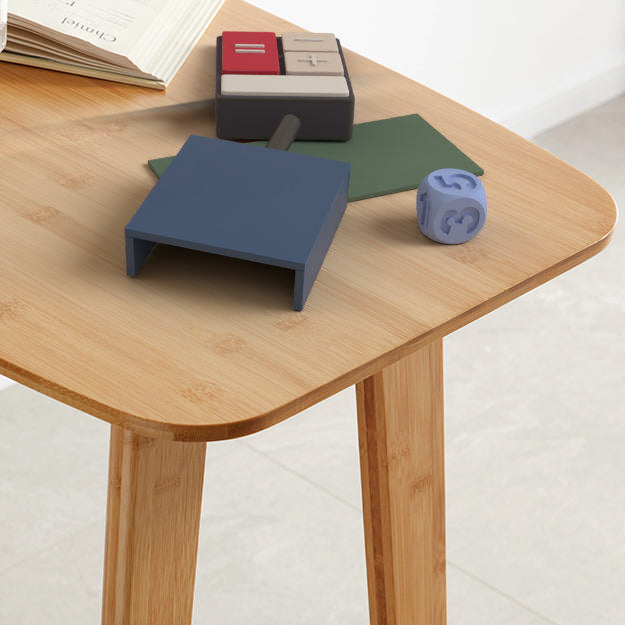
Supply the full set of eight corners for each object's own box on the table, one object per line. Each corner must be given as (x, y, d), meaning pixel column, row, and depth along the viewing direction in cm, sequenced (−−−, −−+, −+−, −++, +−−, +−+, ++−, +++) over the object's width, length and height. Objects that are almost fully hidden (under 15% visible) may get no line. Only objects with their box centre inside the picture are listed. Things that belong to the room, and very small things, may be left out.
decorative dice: (413, 217, 83) (419, 169, 81) (465, 213, 84) (472, 166, 82) (428, 246, 80) (435, 197, 78) (482, 243, 81) (490, 194, 78)
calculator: (339, 28, 101) (356, 90, 89) (337, 75, 104) (353, 141, 91) (216, 26, 100) (215, 87, 88) (216, 73, 103) (215, 139, 90)
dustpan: (305, 264, 71) (368, 124, 85) (123, 228, 73) (216, 97, 87) (301, 311, 73) (364, 167, 88) (126, 276, 75) (216, 140, 90)
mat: (197, 233, 80) (197, 228, 80) (147, 164, 87) (147, 160, 87) (483, 174, 89) (484, 170, 89) (416, 117, 96) (417, 113, 96)
